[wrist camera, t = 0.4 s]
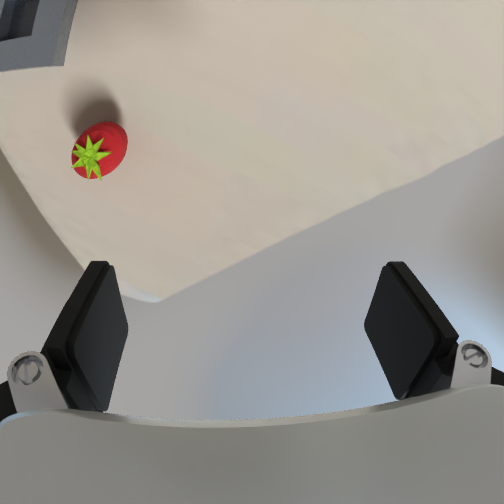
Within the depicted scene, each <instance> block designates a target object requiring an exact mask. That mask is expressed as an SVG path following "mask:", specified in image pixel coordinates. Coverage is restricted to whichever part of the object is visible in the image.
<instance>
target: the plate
mask: <svg viewBox="0 0 504 504" xmlns="http://www.w3.org/2000/svg"><path fill="white" fill-rule="evenodd" d="M77 1H78V0H0V72H5V71H12V70H20V69H29V68H40V67H53V66H64V60H65V54H66V49H67V43H68V38H69V34H70V29H71V25H72V20H73V16H74V12H75V8H76V4H77Z"/></svg>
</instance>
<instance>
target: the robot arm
mask: <svg viewBox="0 0 504 504" xmlns="http://www.w3.org/2000/svg"><path fill="white" fill-rule="evenodd" d="M364 328H365V331H366V333H367V336H368V338H369V340H370V342H371V344H372V346H373V349H374V351H375V353H376V355H377V357H378V360H379V362H380V364H381V366H382V368H383V371H384V373H385V375H386V377H387V380H388V382H389V385H390V387H391V389H392V392H393V394H394V396H395V398H396V399H398V400H399V401H394V402H390V403H385V404H380V405H374V406H369V407H363V408H357V409H351V410H344V411H337V412H331V413H323V414H314V415H305V416H295V417H283V418H268V419H244V420H189V419H168V418H153V417H140V416H128V415H118V414H110V413H103V411H107V409H108V406H109V402H110V398H111V394H112V390H113V386H114V382H115V378H116V374H117V370H118V367H119V363H120V360H121V356H122V352H123V349H124V345H125V342H126V338H127V334H128V323H127V319H126V316H125V312H124V308H123V304H122V300H121V296H120V292H119V287H118V283H117V279H116V274H115V269H114V267H113V266H112V265H109V263H108V262H107V261H91V262H90V264H89V265H88V267H87V269H86V270H85V272H84V274H83V275H82V277H81V279H80V280H79V282H78V284H77V286H76V287H75V289H74V291H73V292H72V294H71V296H70V298H69V299H68V301H67V302H66V304H65V306H64V307H63V309H62V311H61V313H60V315H59V317H58V319H57V321H56V322H55V324H54V326H53V328H52V330H51V332H50V334H49V336H48V338H47V340H46V342H45V344H44V346H43V348H42V350H41V352H40V353H39V352H35V351H28V352H25V353H22V354H20V355H19V356H17V357H16V358H15V359H14V360H13V361H12V362H11V364H10V365H9V367H8V371H7V377H8V381H6V382H4V383H2V384H0V504H504V373H503V372H502V371H499V370H497V369H495V368H493V367H491V365H492V361H491V357H490V354H489V352H488V351H487V350H486V348H484V347H483V346H482V345H481V344H479V343H477V342H475V341H471V340H466V341H463V342H461V343H460V344H459V345H458V343H457V342H456V341H457V339H458V337H459V335H458V334H457V332H456V330H455V329H454V328H453V326H452V325H451V323H450V322H449V321H448V319H447V318H446V316H445V315H444V314H443V312H442V311H441V309H440V308H439V307H438V305H437V304H436V303H435V301H434V300H433V299H432V297H431V296H430V295H429V293H428V292H427V291H426V289H425V288H424V287H423V285H422V284H421V283H420V282H419V280H418V279H417V278H416V276H415V275H414V274H413V273H412V271H411V270H410V269H409V268H408V266H407V265H406V264H405V263H404V262H388V263H387V264H386V266H384V267H383V268H382V270H381V274H380V277H379V280H378V283H377V286H376V290H375V293H374V296H373V299H372V302H371V305H370V308H369V310H368V313H367V316H366V319H365V323H364Z"/></svg>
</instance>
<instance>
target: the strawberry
mask: <svg viewBox="0 0 504 504" xmlns="http://www.w3.org/2000/svg"><path fill="white" fill-rule="evenodd" d="M74 143H75V142H74ZM127 143H128V139H127V134H126V132H125V130H124V129H123V128H122V127H121V126H119V125H117V124H116V123H112V122H100V123H97V124H95V125H93V126H91V127H89V128H88V129H87V130H86V131H85V132H84V133H83V134H82V135H81V136H80V137H79V138H78V140H77V141H76V143H75V145H74V147H73V151H71V152H72V165H73V166H72V167H71V168H73V167H74V169H75V171H76V172H77V173H78V174H79V175H80V176H82V177H84V178H88V179H95V178H99V179H100V180H101V177H102V176H104V175H106V174H108V173H110V172H112V171H113V170H114V169H115V168H116V167H117V166H118V165H119V164H120V163H121V161H122V160H123V158H124V156H125V153H126V150H127Z"/></svg>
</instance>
